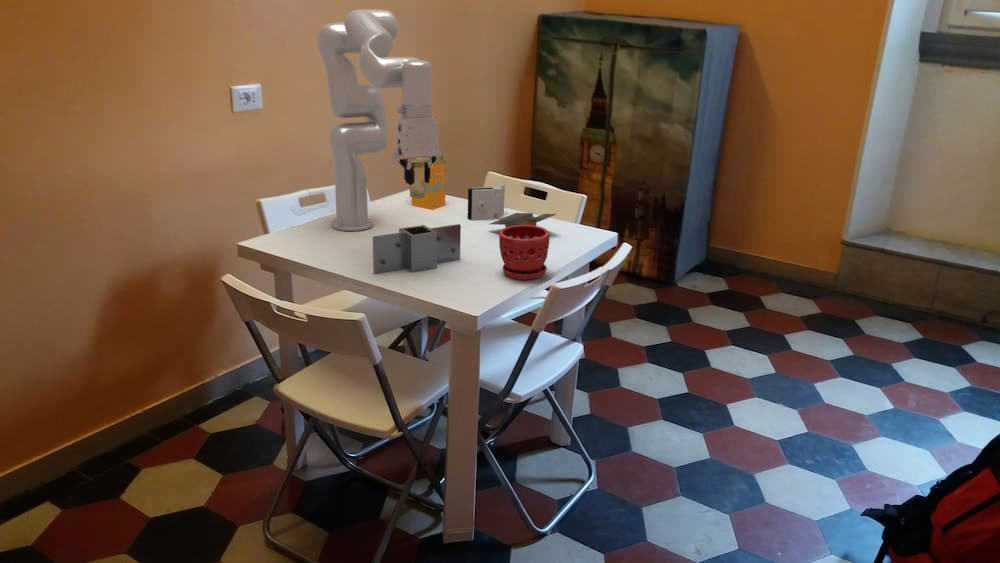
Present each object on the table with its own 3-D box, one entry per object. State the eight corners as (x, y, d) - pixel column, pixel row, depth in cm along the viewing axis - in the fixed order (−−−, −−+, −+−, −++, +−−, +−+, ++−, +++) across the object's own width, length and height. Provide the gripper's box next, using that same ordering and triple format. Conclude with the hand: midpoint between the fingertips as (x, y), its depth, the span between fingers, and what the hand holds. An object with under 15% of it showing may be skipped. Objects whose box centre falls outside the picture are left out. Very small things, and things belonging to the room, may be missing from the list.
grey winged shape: (492, 249, 239) (518, 227, 227) (486, 223, 242) (511, 201, 230) (536, 250, 248) (563, 229, 236) (529, 225, 251) (555, 203, 239)
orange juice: (432, 210, 263) (432, 150, 256) (411, 205, 267) (410, 147, 260) (445, 205, 269) (446, 147, 262) (425, 200, 273) (424, 143, 266)
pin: (400, 194, 205) (400, 154, 201) (423, 191, 208) (423, 152, 205) (411, 200, 200) (411, 159, 196) (434, 197, 203) (434, 156, 199)
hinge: (502, 213, 262) (503, 184, 258) (510, 218, 257) (511, 188, 254) (465, 218, 255) (466, 188, 252) (473, 222, 251) (473, 192, 247)
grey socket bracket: (368, 268, 208) (367, 233, 204) (453, 254, 221) (453, 220, 217) (379, 277, 202) (379, 241, 198) (466, 262, 215) (466, 228, 211)
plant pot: (526, 262, 217) (528, 221, 212) (557, 276, 207) (560, 233, 203) (488, 271, 209) (489, 228, 205) (518, 286, 200) (520, 241, 195)
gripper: (392, 115, 189) (393, 189, 196) (453, 111, 198) (452, 182, 204) (380, 111, 195) (381, 182, 202) (439, 107, 204) (439, 176, 210)
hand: (417, 182), depth 203 cm, fingers closed on pin, 4 cm apart
